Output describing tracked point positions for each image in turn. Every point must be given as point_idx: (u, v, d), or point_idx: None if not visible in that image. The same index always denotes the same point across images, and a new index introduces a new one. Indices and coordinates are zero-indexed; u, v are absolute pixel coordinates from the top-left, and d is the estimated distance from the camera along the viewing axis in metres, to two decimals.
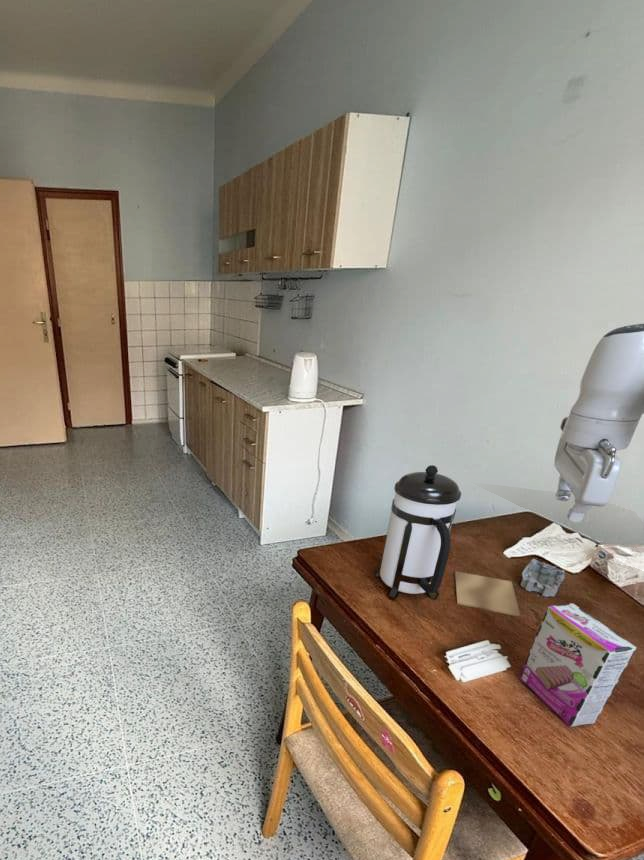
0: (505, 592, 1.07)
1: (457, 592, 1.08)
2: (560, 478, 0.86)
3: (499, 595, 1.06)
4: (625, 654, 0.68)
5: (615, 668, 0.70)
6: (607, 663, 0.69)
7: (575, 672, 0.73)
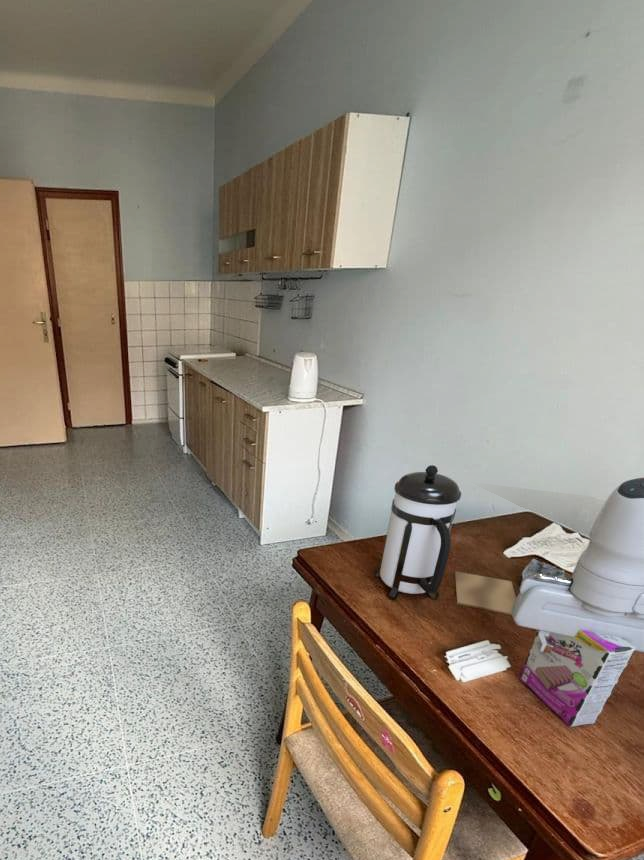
0: (505, 592, 1.07)
1: (457, 592, 1.08)
2: None
3: (499, 595, 1.06)
4: (625, 654, 0.68)
5: (615, 668, 0.70)
6: (607, 663, 0.69)
7: (575, 672, 0.73)
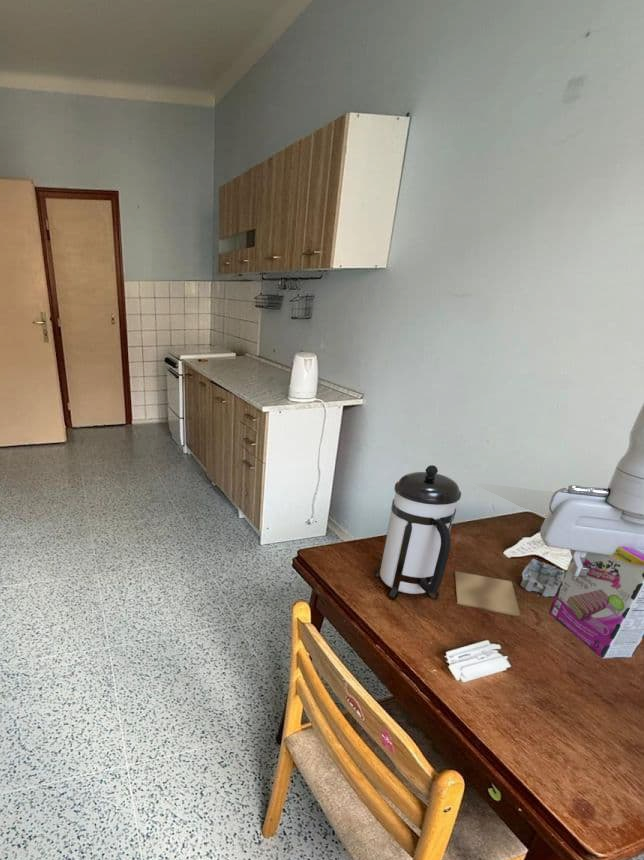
0: (505, 592, 1.07)
1: (457, 592, 1.08)
2: None
3: (499, 595, 1.06)
4: None
5: None
6: None
7: (611, 595, 0.66)
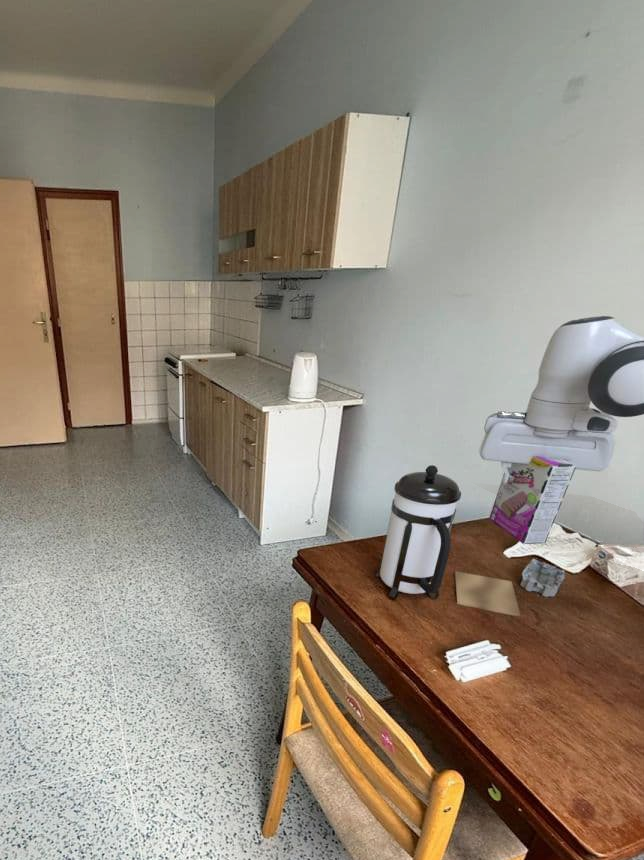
0: (505, 592, 1.07)
1: (457, 592, 1.08)
2: None
3: (499, 595, 1.06)
4: (567, 470, 0.84)
5: (559, 484, 0.85)
6: (551, 478, 0.85)
7: (528, 494, 0.89)
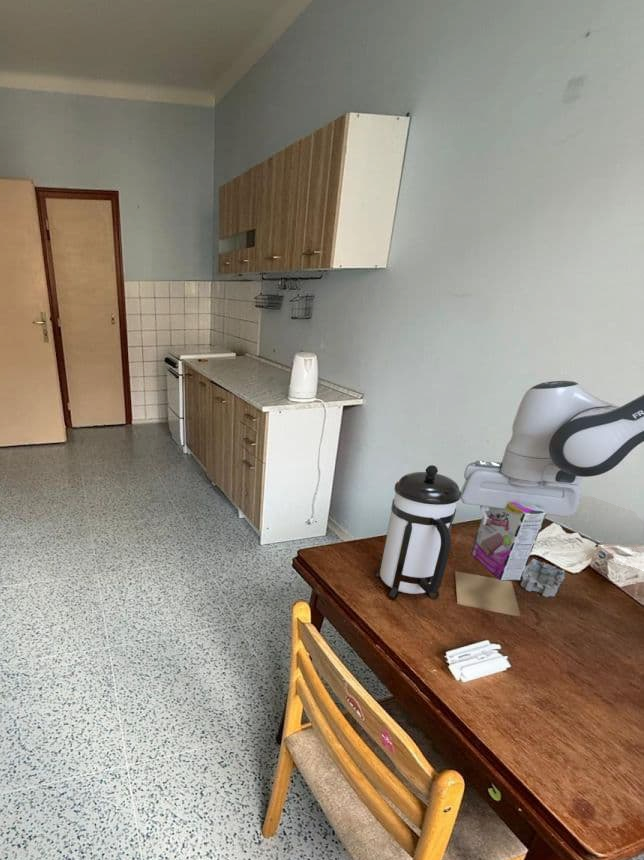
0: (505, 592, 1.07)
1: (457, 592, 1.08)
2: None
3: (499, 595, 1.06)
4: (538, 516, 0.92)
5: (531, 528, 0.94)
6: (524, 523, 0.93)
7: (504, 536, 0.97)
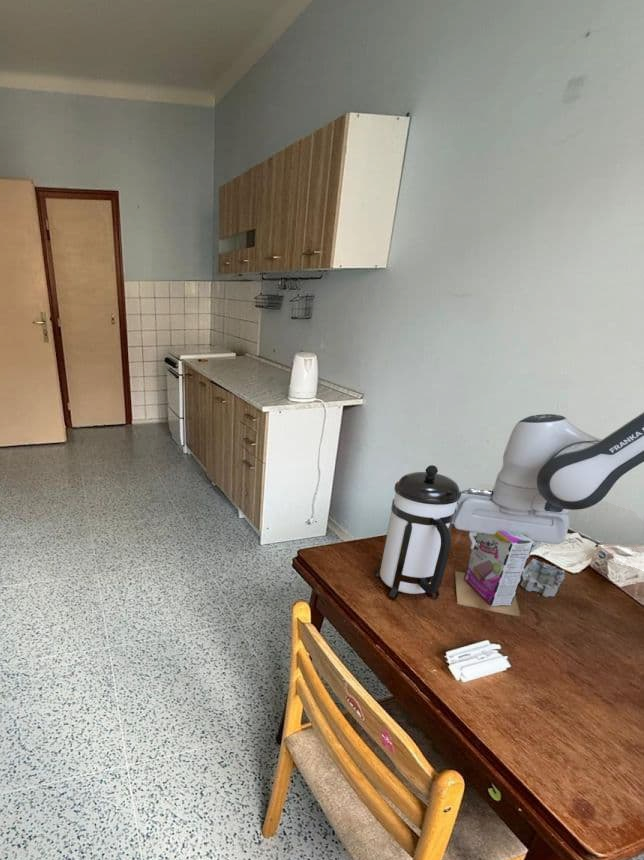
0: None
1: (457, 592, 1.08)
2: None
3: None
4: (525, 546, 0.95)
5: (519, 557, 0.97)
6: (512, 552, 0.96)
7: (494, 563, 1.01)
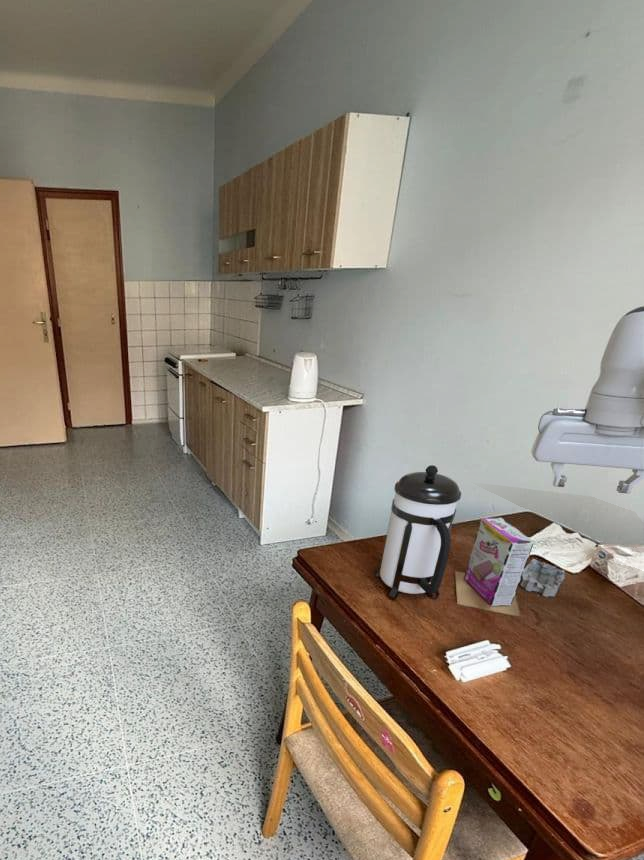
0: None
1: (457, 592, 1.08)
2: None
3: None
4: (525, 546, 0.95)
5: (519, 557, 0.97)
6: (512, 552, 0.96)
7: (494, 563, 1.01)
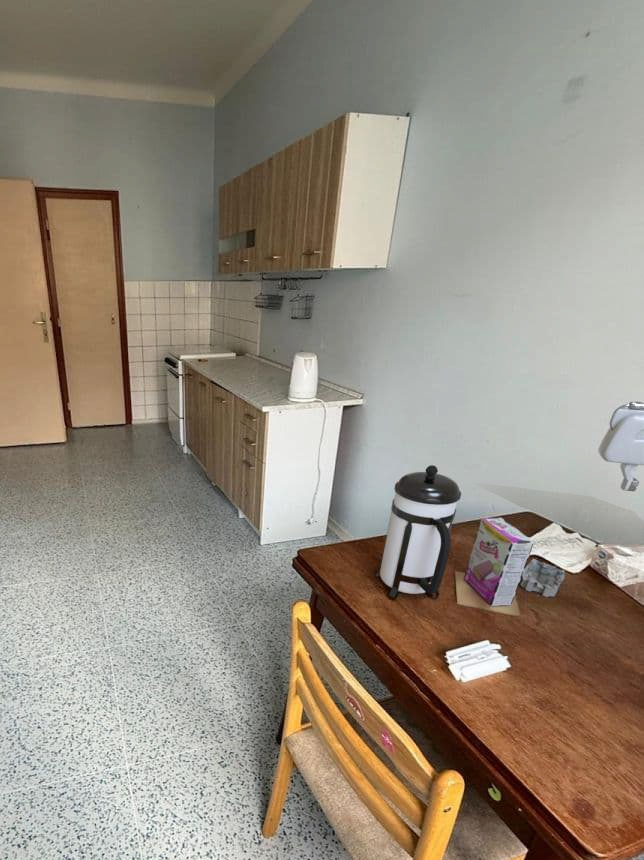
0: None
1: (457, 592, 1.08)
2: None
3: None
4: (525, 546, 0.95)
5: (519, 557, 0.97)
6: (512, 552, 0.96)
7: (494, 563, 1.01)
